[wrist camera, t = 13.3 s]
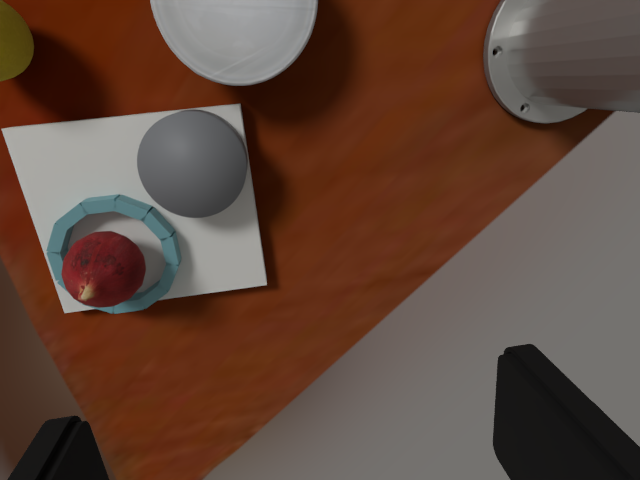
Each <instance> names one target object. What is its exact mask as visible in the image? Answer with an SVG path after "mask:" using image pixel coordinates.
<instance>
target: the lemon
mask: <svg viewBox="0 0 640 480" xmlns="http://www.w3.org/2000/svg"><path fill="white" fill-rule="evenodd" d="M33 52H34V43H33V37H32V34H31V32H30V29H29V27H28V25H27V24H26V22H25V21H24V19H23V18H22V17H21V16H20V15H19V14H18V13H17V12H16V11H15V10H14V9H13V8H12V7H11V6H9V5H8V4H6V3H5V2H3V1H2V0H0V81H3V80H7V79H10V78H14V77H16V76H17V75H19V74H20V73H22V72H23V71H24V70H25V69H26V68H27V67H28V65H29V64H30V62H31V60H32V57H33Z"/></svg>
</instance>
